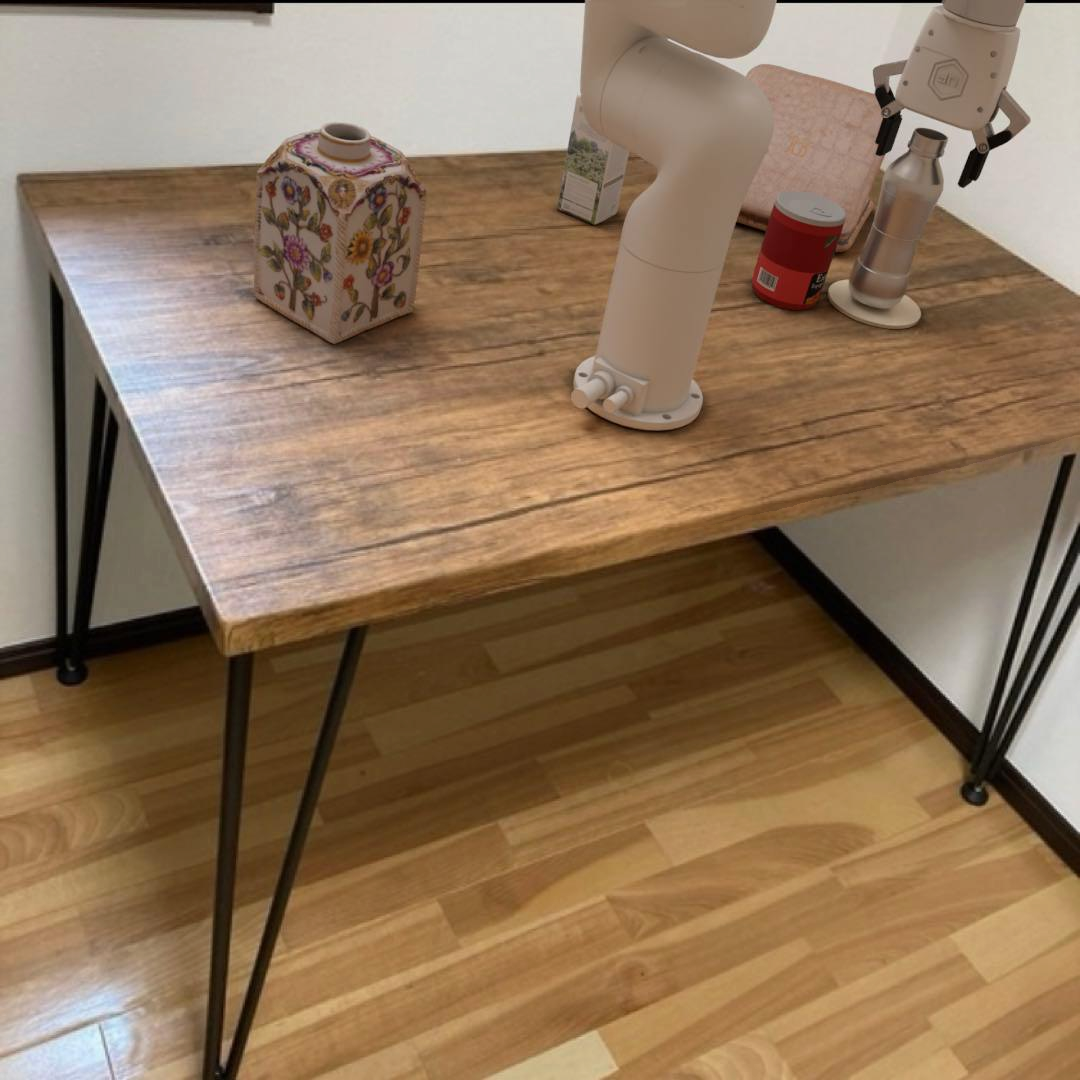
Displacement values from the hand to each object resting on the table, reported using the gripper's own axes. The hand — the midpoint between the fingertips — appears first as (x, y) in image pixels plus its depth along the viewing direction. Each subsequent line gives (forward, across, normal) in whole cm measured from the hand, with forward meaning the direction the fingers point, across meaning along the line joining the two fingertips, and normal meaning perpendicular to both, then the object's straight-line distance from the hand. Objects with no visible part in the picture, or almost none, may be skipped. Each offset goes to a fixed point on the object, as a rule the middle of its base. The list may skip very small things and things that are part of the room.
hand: (923, 168), depth 135 cm
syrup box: (+17, -36, -8) cm, 40 cm away
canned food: (+17, -8, -7) cm, 20 cm away
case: (+17, -20, +16) cm, 30 cm away
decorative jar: (+17, -38, -50) cm, 65 cm away
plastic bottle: (+16, 0, 0) cm, 16 cm away
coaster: (+17, 0, 0) cm, 17 cm away
